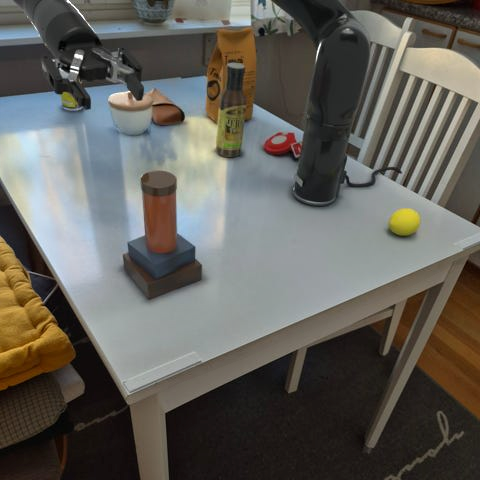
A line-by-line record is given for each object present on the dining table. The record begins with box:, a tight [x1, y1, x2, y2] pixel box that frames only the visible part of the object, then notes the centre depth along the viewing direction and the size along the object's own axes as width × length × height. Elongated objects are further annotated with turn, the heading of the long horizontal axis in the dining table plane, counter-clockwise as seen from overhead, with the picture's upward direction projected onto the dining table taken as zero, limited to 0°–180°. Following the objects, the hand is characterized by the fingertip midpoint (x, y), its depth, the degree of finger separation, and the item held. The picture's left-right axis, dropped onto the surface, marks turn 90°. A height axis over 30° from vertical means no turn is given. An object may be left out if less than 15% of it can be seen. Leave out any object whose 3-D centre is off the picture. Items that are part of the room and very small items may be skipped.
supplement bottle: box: [58, 68, 84, 112], centre depth 125 cm, size 5×5×10 cm
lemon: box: [388, 207, 421, 236], centre depth 93 cm, size 7×5×5 cm
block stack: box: [122, 232, 203, 300], centre depth 78 cm, size 10×9×6 cm
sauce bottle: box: [215, 63, 246, 158], centre depth 109 cm, size 6×6×20 cm
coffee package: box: [205, 26, 258, 124], centre depth 125 cm, size 10×12×22 cm
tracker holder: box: [263, 131, 302, 160], centre depth 118 cm, size 12×4×10 cm
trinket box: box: [107, 90, 153, 136], centre depth 118 cm, size 11×11×9 cm
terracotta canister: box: [139, 170, 178, 253], centre depth 72 cm, size 5×5×11 cm
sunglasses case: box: [145, 87, 186, 126], centre depth 130 cm, size 18×7×7 cm, turn 33°
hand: (115, 100), depth 70 cm, fingers open, 8 cm apart
